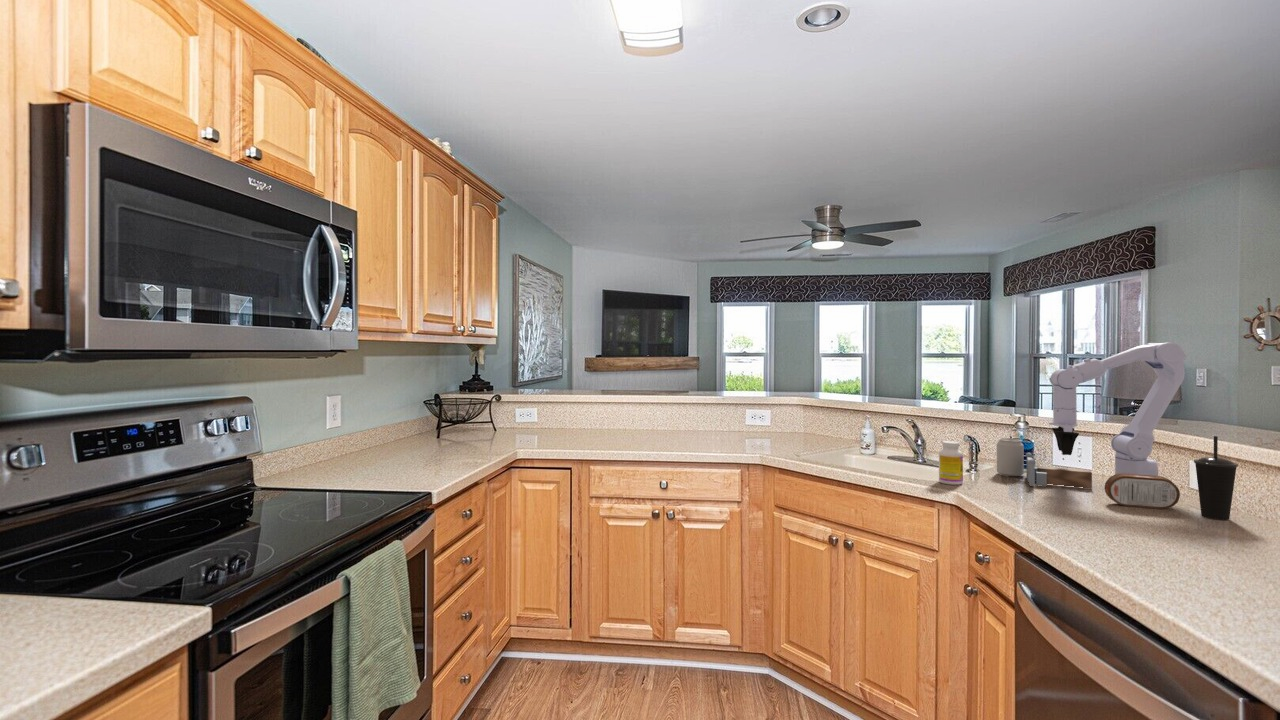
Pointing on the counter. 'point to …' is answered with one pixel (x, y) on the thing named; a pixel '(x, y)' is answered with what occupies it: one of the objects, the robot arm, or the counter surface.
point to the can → (1010, 457)
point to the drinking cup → (1215, 485)
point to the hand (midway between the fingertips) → (1064, 452)
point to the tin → (1142, 491)
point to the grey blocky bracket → (1034, 473)
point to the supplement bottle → (950, 463)
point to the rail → (1067, 476)
